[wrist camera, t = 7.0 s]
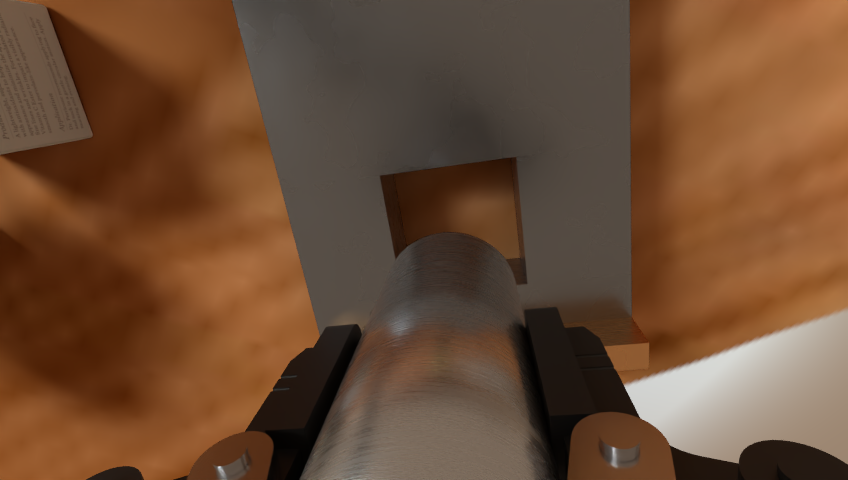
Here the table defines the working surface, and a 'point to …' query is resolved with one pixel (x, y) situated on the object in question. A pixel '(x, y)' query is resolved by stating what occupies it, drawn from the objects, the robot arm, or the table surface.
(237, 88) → the table surface
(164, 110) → the table surface
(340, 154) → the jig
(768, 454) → the robot arm
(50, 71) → the skincare box
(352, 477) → the translucent grey cylinder
